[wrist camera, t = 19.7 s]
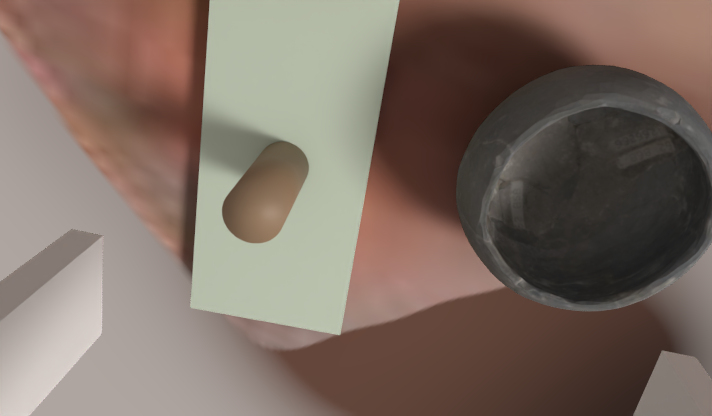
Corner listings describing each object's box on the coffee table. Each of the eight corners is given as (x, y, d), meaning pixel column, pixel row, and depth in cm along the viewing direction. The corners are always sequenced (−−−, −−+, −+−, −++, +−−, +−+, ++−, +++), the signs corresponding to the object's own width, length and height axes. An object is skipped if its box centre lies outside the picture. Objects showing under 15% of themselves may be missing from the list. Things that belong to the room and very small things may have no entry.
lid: (402, -14, 39) (399, -8, 29) (342, 321, 49) (325, 413, 39) (221, -45, 40) (157, -50, 29) (198, 295, 49) (143, 380, 39)
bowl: (549, 293, 46) (585, 374, 37) (409, 164, 43) (409, 218, 34) (716, 158, 41) (805, 213, 32) (571, 4, 39) (623, 15, 29)
